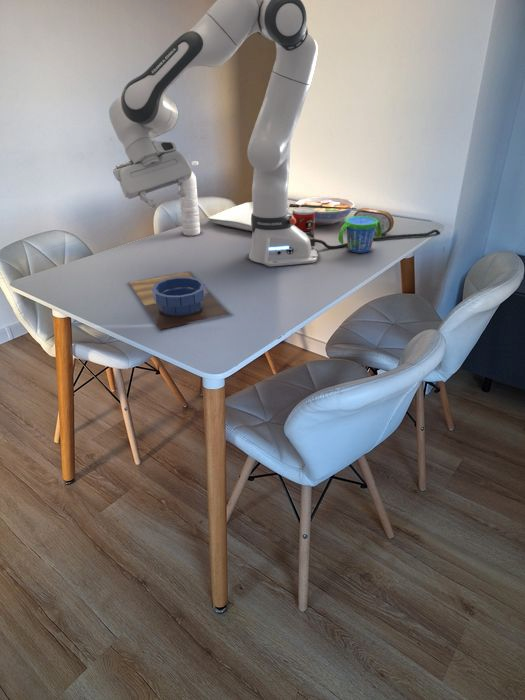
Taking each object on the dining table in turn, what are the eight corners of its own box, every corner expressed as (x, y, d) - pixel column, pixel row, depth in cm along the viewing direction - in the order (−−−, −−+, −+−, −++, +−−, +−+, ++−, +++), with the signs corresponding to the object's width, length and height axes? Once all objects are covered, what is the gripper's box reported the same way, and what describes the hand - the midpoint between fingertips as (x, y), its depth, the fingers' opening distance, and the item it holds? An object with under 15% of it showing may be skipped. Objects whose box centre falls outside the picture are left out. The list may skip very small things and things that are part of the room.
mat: (144, 306, 136) (144, 305, 135) (208, 294, 142) (208, 292, 142) (160, 330, 124) (160, 328, 124) (229, 315, 131) (229, 313, 130)
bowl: (209, 297, 139) (208, 277, 136) (201, 319, 128) (199, 297, 125) (162, 297, 140) (159, 276, 137) (149, 318, 129) (146, 296, 126)
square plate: (247, 210, 219) (247, 200, 217) (302, 219, 205) (302, 209, 203) (206, 225, 200) (205, 215, 198) (264, 237, 186) (264, 226, 184)
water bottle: (190, 237, 187) (184, 165, 175) (179, 233, 191) (172, 163, 179) (208, 231, 193) (203, 162, 180) (197, 228, 197) (191, 160, 184)
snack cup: (344, 257, 166) (346, 226, 161) (331, 247, 175) (332, 218, 169) (387, 252, 170) (390, 221, 165) (372, 242, 179) (375, 213, 173)
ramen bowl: (358, 216, 208) (359, 195, 204) (353, 233, 189) (355, 210, 184) (297, 213, 213) (297, 193, 209) (287, 229, 194) (287, 207, 190)
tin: (392, 234, 186) (395, 211, 182) (389, 236, 184) (392, 213, 180) (354, 228, 193) (356, 206, 189) (351, 230, 191) (352, 208, 187)
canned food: (299, 245, 177) (300, 213, 172) (288, 239, 183) (288, 208, 178) (318, 242, 180) (319, 210, 175) (306, 236, 186) (307, 205, 181)
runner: (129, 283, 150) (129, 282, 150) (187, 272, 156) (187, 271, 156) (144, 306, 136) (144, 305, 135) (208, 294, 142) (208, 292, 142)
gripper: (111, 161, 133) (135, 208, 134) (180, 140, 142) (202, 185, 142) (109, 172, 139) (132, 218, 140) (175, 152, 147) (197, 195, 148)
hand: (168, 201), depth 141 cm, fingers open, 8 cm apart
